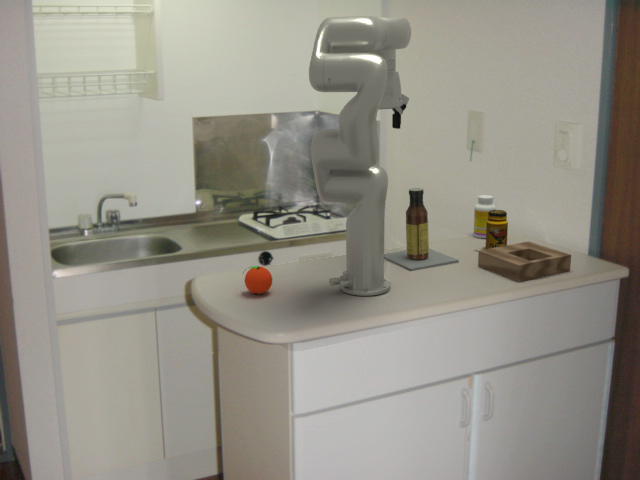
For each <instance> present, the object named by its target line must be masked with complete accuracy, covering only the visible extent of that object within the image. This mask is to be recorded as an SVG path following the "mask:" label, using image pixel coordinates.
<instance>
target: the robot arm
mask: <svg viewBox="0 0 640 480" xmlns="http://www.w3.org/2000/svg"><path fill="white" fill-rule="evenodd" d="M410 24H411V23H410V22H409V20H408V19H407V18H405V17H385V16H373V15H371V16H370V15H369V16H368V15H367V16H364V15H363V16H361V15H359V16H356V15H355V16H333V17H332V16H331V17H327V18H324V19H323V21H321V23H320V24H319V26H318V29H317V32H316V35H315V39H314V42H313V47H312V52H311V55H310V56H311V57H310V62H309V65H308V66H309V67H308V80H309V83H310V86H311V88H313V90H315V91H316V92H320V93H356V94H355V95H354V96H353V97H352V98H351V99H350V100H348V101H347V103H346V104H345V105H344V107H343V108H342V109H341V110H340V112H339V114H338V126H339V128H323V129H320V130H318V131H316V132H315V134H314V135H313V136H312V138H311V139H312V140H311V144H310V157H311V164H312V169H313V171H312V172H313V174H314V175H313V176H314V180H315V186H316V191H317V195H318V197H319V198H320V200H322V201H323V202H326V203H333V204H334V203H341V204H342V203H343V204H344V203H345V204H354V205H356V206H355V207H354V208H353V210H351V211H350V213H349V214H348V215H347V218H346V221H345V244H346V245H345V246H346V247H345V254H346V255H345V257H346V261H345V262H346V265H345V266H346V269H345V270H343V271H342V275H341V274H340V276H335V277H331V278H329V279H328V283H329V286H331V287H333V286H339V287H340V290H341V292H343V293H345V294H348V295H352V296H361V297H369V296H370V297H371V296H378V295H382V294H385V293H387V292H389V291H390V290H391V282H390V281H389V280H388V279H385V259H384V254H385V213H386V212H385V210H386V200H387V195H388V189H389V188H388V186H389V176H388V172H387V170H386V169H385V168H383V166H379V165H377V163H378V161H379V157H380V156H379V155H380V150H379V149H380V145H379V136H378V132H379V131H378V123H377V122H378V121H377V117H378V112H379V110H390V109H391V110H392V112H393V113H392V115H391V117H392V119H391V121H392V122H391V123H392V126H391V127H392V128H393V129H397V130H400V129H401V125H402V115H403V113H404V111H405V109H406V108H407V105H408V103H409V101H410V98H409V97H408V96H406V95H405V94H402V88H401V78H400V74H399V71H396V69H397V68H396V67H397V66H396V65H397V63H396V61H397V59H396V57H397V53H396V50H402V49H406V48H407V47H408V45H410V42H411V38H412V37H411V36H412V27H411V25H410Z"/></svg>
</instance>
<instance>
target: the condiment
mask: <svg viewBox="0 0 640 480" xmlns="http://www.w3.org/2000/svg"><path fill="white" fill-rule="evenodd" d="M488 214H489V215H488V220H487V225H486V239H485V246H483V247H480V248H476V249H475V251H478V252H479V250H485V249H490V248H496V247H501V246H506V245H508V230H509V226H508V223H509V222H508V220H507V219H508V218H507V217H508V216H507V215H508V212H507V211H506V210H502V209H496V210H491V211H489V212H488Z"/></svg>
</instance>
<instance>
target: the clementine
mask: <svg viewBox="0 0 640 480" xmlns="http://www.w3.org/2000/svg"><path fill="white" fill-rule="evenodd" d="M247 269H249V270H247ZM246 270H247V272H246V274H245V277H244V285H245V287H246V289H247V290H248V291H249V292H251V294H254V293H263V294H265V293H266V291H267V292H268V291H269V290H270V289H271V287H272V284H273V276H272V274H271V272H270V270H269V269H268V268H266V267H265V266H256V265H255V266H254V265H252V266H248V267H247V268H245V269H244V270H243V272H242V274H244V273H245V271H246ZM264 292H265V293H264Z"/></svg>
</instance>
